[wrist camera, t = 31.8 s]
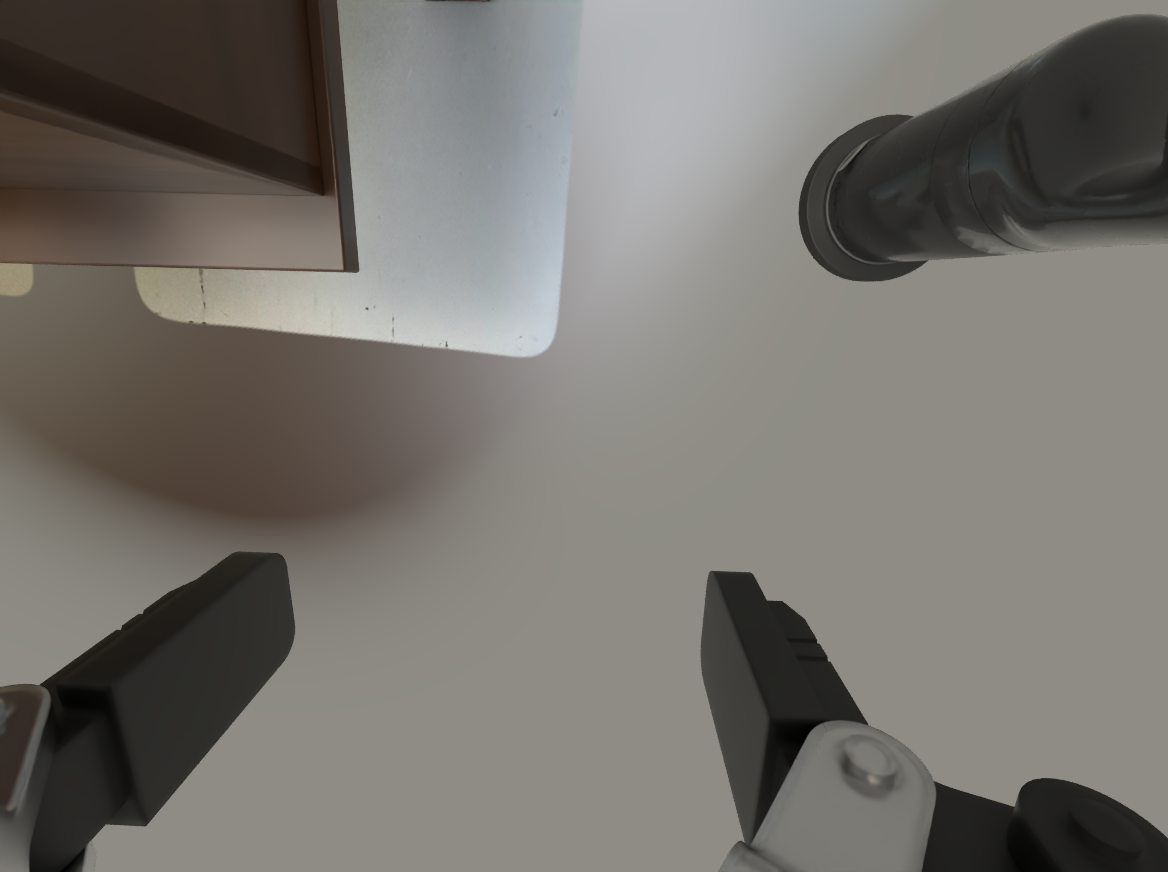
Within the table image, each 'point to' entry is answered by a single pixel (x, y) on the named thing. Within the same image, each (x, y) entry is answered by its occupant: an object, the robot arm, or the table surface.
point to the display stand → (175, 135)
